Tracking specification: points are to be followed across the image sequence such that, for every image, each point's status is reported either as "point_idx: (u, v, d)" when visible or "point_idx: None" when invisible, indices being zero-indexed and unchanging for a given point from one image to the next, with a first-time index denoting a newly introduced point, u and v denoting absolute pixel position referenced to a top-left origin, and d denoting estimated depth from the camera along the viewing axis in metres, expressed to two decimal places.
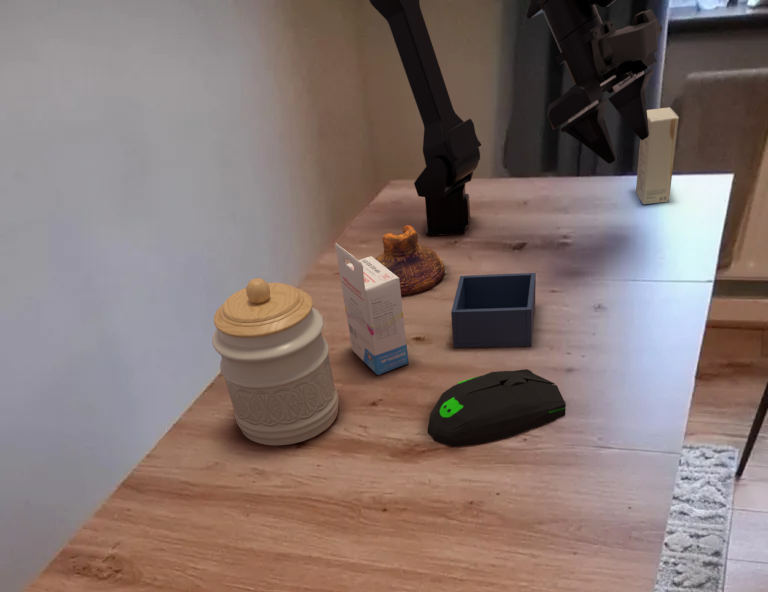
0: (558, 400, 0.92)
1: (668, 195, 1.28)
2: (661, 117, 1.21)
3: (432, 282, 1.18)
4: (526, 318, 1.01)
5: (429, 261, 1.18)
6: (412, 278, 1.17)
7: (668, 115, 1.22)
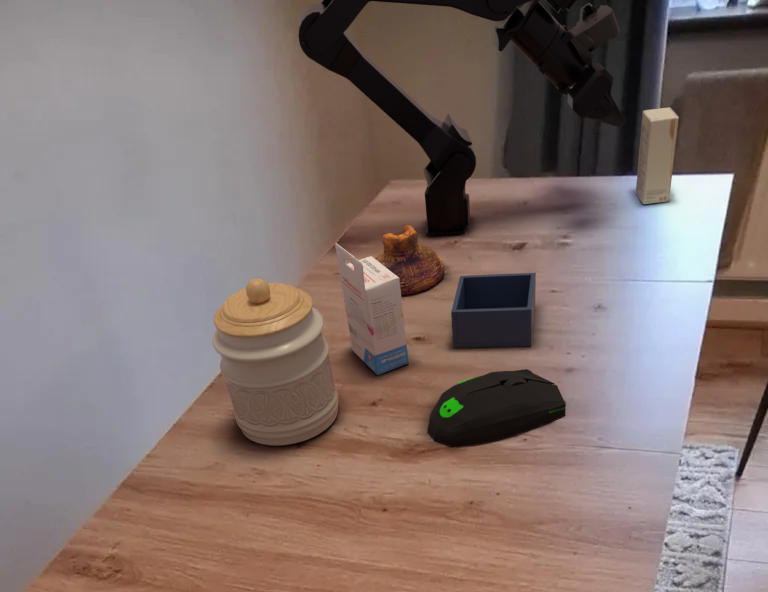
0: (558, 400, 0.92)
1: (668, 195, 1.28)
2: (661, 117, 1.21)
3: (432, 282, 1.18)
4: (526, 318, 1.01)
5: (429, 261, 1.18)
6: (412, 278, 1.17)
7: (668, 115, 1.22)
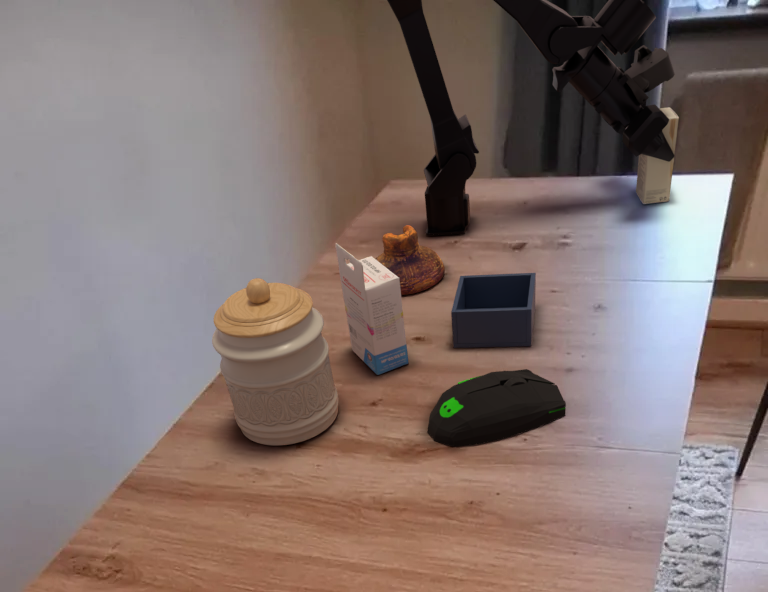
0: (558, 400, 0.92)
1: (668, 195, 1.28)
2: None
3: (432, 282, 1.18)
4: (526, 318, 1.01)
5: (429, 261, 1.18)
6: (412, 278, 1.17)
7: (668, 115, 1.22)
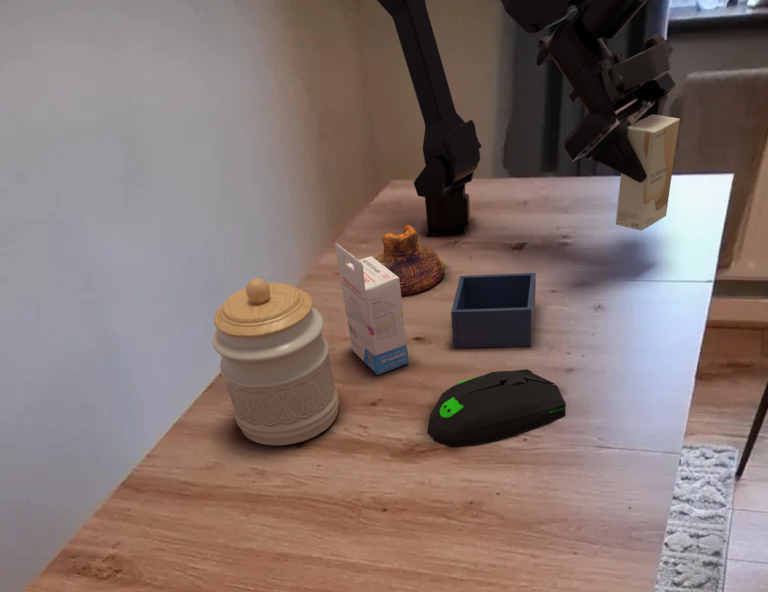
0: (558, 400, 0.92)
1: (640, 223, 1.07)
2: (641, 126, 1.01)
3: (432, 282, 1.18)
4: (526, 318, 1.01)
5: (429, 261, 1.18)
6: (412, 278, 1.17)
7: (652, 126, 1.00)
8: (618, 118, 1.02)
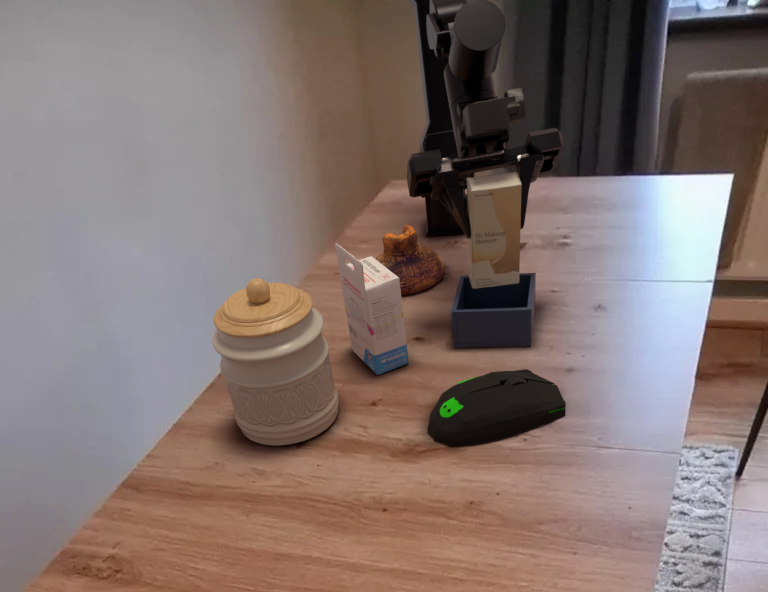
0: (558, 400, 0.92)
1: (472, 281, 1.02)
2: (475, 181, 0.95)
3: (432, 282, 1.18)
4: (526, 318, 1.01)
5: (429, 261, 1.18)
6: (412, 278, 1.17)
7: (483, 184, 0.94)
8: (474, 166, 0.97)
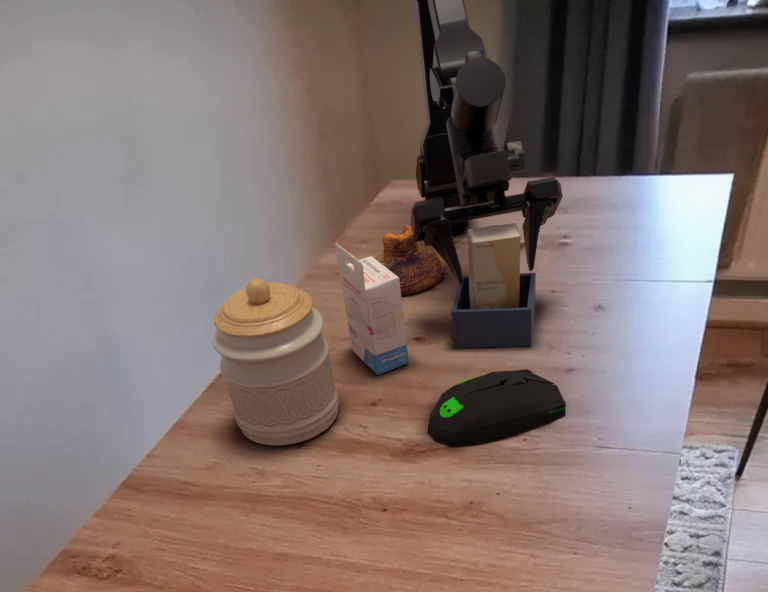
0: (558, 400, 0.92)
1: None
2: (476, 232, 0.99)
3: (432, 282, 1.18)
4: (526, 318, 1.01)
5: (429, 261, 1.18)
6: (412, 278, 1.17)
7: (483, 236, 0.99)
8: (475, 213, 1.01)
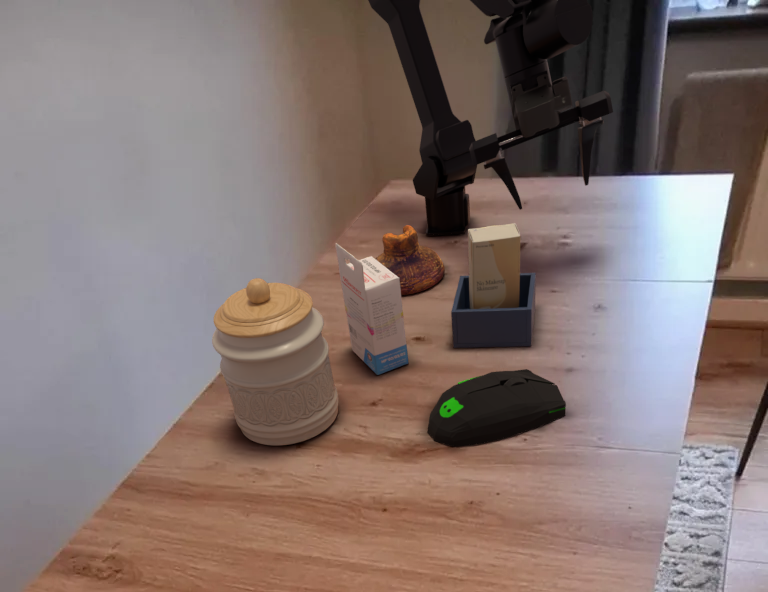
0: (558, 400, 0.92)
1: None
2: (476, 232, 0.99)
3: (432, 282, 1.18)
4: (526, 318, 1.01)
5: (429, 261, 1.18)
6: (412, 278, 1.17)
7: (483, 236, 0.99)
8: (530, 136, 1.07)
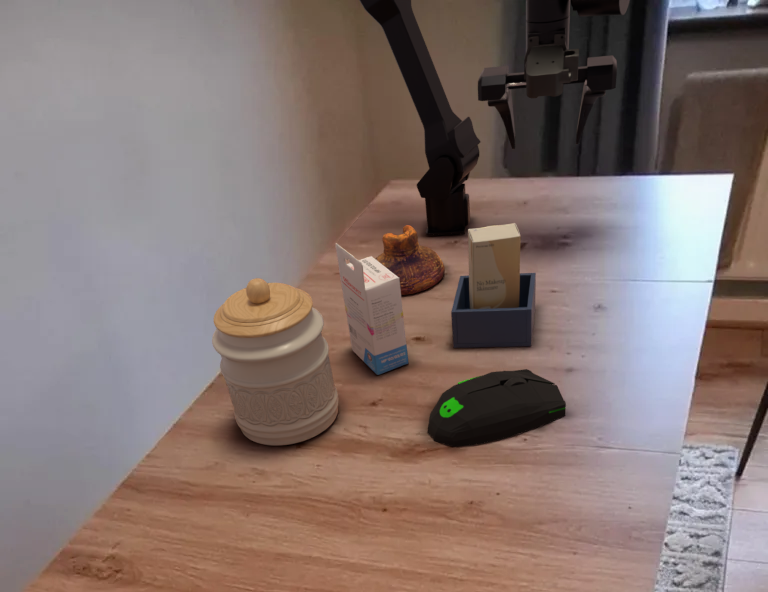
0: (558, 400, 0.92)
1: None
2: (476, 232, 0.99)
3: (432, 282, 1.18)
4: (526, 318, 1.01)
5: (429, 261, 1.18)
6: (412, 278, 1.17)
7: (483, 236, 0.99)
8: None
